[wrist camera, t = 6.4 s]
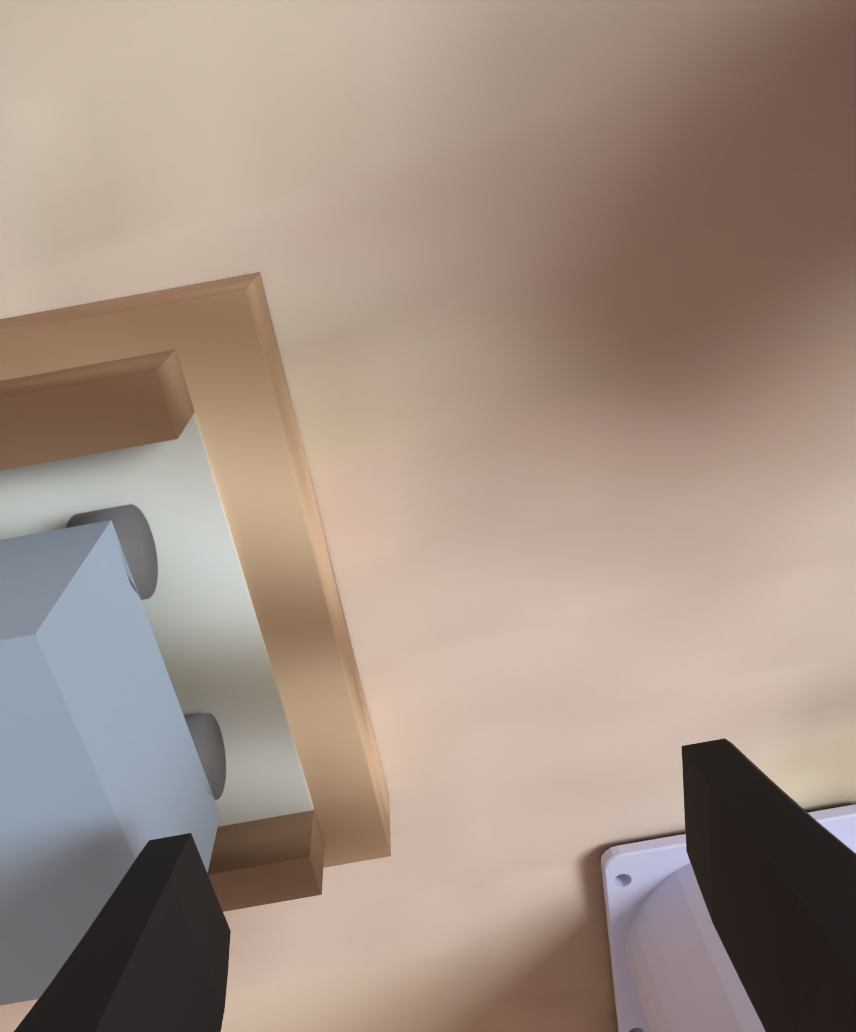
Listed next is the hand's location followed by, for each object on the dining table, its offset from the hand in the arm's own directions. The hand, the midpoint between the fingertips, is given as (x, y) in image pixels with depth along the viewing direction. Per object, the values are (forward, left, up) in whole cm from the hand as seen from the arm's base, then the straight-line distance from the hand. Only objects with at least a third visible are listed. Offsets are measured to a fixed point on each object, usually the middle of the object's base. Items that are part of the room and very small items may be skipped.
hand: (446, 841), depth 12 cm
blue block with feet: (0, +7, -6) cm, 10 cm away
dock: (0, +7, -8) cm, 11 cm away
